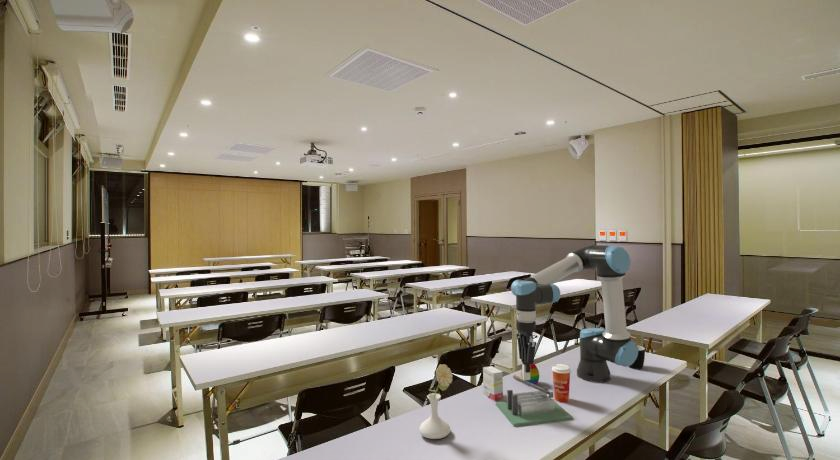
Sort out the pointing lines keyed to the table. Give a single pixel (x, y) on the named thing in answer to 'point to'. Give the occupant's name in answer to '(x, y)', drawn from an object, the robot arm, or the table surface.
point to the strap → (530, 384)
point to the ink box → (493, 383)
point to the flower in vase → (434, 424)
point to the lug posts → (512, 402)
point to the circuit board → (519, 421)
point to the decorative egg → (533, 374)
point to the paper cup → (561, 382)
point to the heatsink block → (535, 403)
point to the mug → (639, 359)
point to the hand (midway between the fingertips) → (526, 379)
